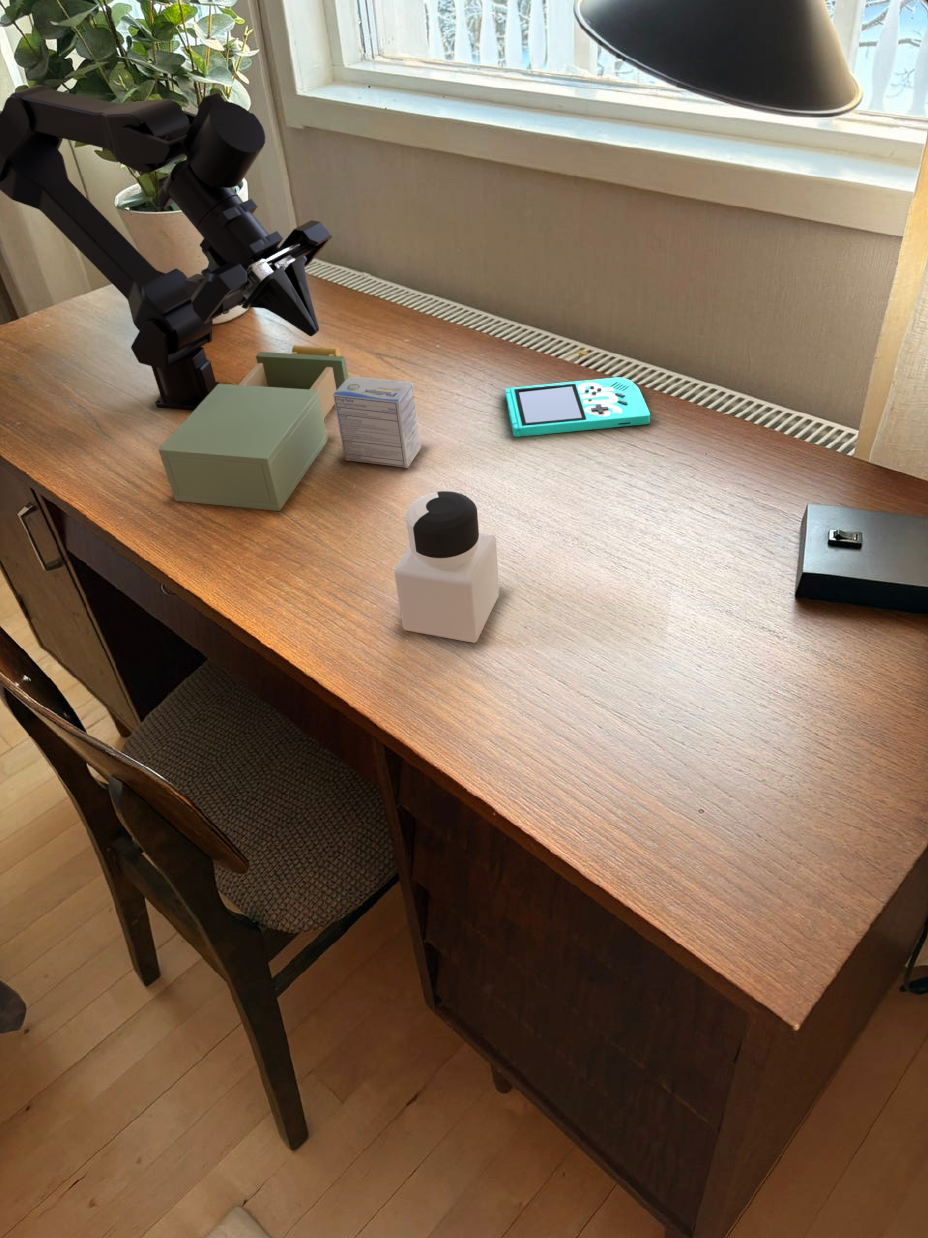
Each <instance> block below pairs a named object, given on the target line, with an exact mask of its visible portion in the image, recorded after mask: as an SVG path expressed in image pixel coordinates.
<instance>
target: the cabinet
mask: <svg viewBox="0 0 928 1238" xmlns="http://www.w3.org/2000/svg"><path fill="white" fill-rule="evenodd" d="M325 424H326V423H325V418H323V413H322V408H321V403H320V397H319V392H318V390H308V389H292V388H277V387H261V386H246V385H238V384H231V383H230V384H229V383H220V384H218V385H217V386H216V387H215V388H214V389H213V390H212V391H211V392H210V394H209V395H208V396H207V397H206V398H205V399H204V400H203V401H202V402H201V403H200V405H199V406H198V407H197V408H196V409H193V411H192V412H191V413H190V415H188V416H187V417H186V419H185V420H184V421H182V423H181V424H180V425H179V427H177V428H176V430H175V431H174V432H173V433H172V434H171V435H170V436H169V437H168V438H167V439H166V440H165V442H164V443H163V444H162V445H161V446H160V447H159V448H158V454H159V455H160V459H161V461H162V465H163V468H164V470H165V471H164V472H165V474H166V477H167V480H168V483H169V486H170V489H171V491H172V495H173V498H174V501H175V502H183V503H193V504H203V505H214V506H224V507H233V508H245V509H254V510H264V511H265V510H266V511H272V512H273V511H274V512H275V511H276V512H280V511H281V510H282V509H283V507H284V505H285V504H286V503H287V501H288V500H289V498H290V496H291V495H292V494H293V492H294V491H295V489H296V488H297V486H298V485H299V484H300V482H301V480H303V478H304V476H305V475H306V473H307V472H308V471H309V469H310V468H311V466H312V465H313V463H314V461H315V460H316V458H317V457H318V455H319V454H320V453H321V452H322V450H323V448H324V447H325V446H326V444H327V442H328V441H329V440H328V434H327V428H326V425H325Z"/></svg>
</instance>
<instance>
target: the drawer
mask: <svg viewBox="0 0 928 1238" xmlns="http://www.w3.org/2000/svg"><path fill="white" fill-rule="evenodd" d="M291 351H292V352H291V353H287V352H271V351H269V352H268V351H259V352H258V353H257V354H256V355H255V359H256V364H255V365H254V366H253V367H252V368H251V370H249V372H247V374H246V375H245V376H244V377H243V379H241V381H239V383H238V384H237V385H246V386H261V387H277V388H292V389H308V390H318V392H319V397H320V403H321V408H322V413H323V418H324V419H326V417H327V416H328V414H329V412H330V411H331V410H332V408H333V407H334V406H335V403H334V397H333V394H334V393H335V392H336V391H337V389H338V388H339V387H340V386H341V385H342V384H343V383H344V382H345V380H346V379H347V378H348V377H349V375H348V374H349V373H348V368H347V362H346V357H345V356H344V355H343V356H341V351H340V348H339V347H331V346H330V347H327V346H309V345H293V346H292V349H291Z"/></svg>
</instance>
